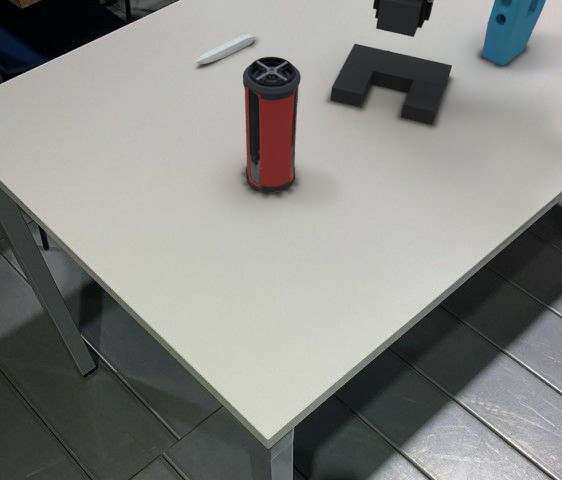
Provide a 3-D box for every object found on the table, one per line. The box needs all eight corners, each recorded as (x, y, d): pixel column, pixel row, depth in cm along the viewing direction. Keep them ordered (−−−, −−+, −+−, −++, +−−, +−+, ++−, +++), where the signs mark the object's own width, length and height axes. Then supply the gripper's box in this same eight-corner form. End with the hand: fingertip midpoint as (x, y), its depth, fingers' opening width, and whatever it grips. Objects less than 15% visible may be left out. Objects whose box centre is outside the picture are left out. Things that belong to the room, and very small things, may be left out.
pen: (193, 66, 112) (192, 58, 110) (252, 38, 117) (251, 29, 115) (198, 70, 111) (198, 62, 110) (257, 41, 116) (257, 33, 115)
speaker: (235, 176, 97) (230, 68, 82) (271, 154, 100) (272, 45, 85) (270, 202, 94) (271, 95, 79) (305, 178, 97) (313, 70, 82)
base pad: (448, 78, 112) (452, 65, 110) (431, 124, 105) (435, 111, 103) (352, 56, 114) (354, 43, 112) (330, 100, 108) (331, 87, 105)
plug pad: (422, 17, 97) (429, -13, 94) (413, 37, 95) (420, 7, 91) (385, 9, 98) (390, -22, 95) (375, 28, 95) (380, -2, 92)
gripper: (497, -121, 81) (459, 18, 97) (370, -144, 84) (353, -5, 99) (487, -97, 77) (450, 44, 93) (355, -121, 80) (339, 19, 95)
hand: (400, 17), depth 96 cm, fingers closed on plug pad, 6 cm apart
